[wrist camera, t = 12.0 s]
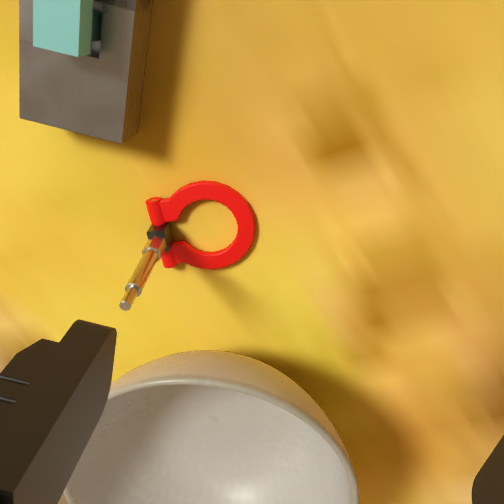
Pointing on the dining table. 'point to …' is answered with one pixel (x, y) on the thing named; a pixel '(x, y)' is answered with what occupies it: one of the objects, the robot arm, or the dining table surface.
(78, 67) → the rectangular board
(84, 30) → the teal rectangular prism
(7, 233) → the dining table surface
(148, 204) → the tow hook
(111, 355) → the robot arm
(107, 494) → the decorative bowl
